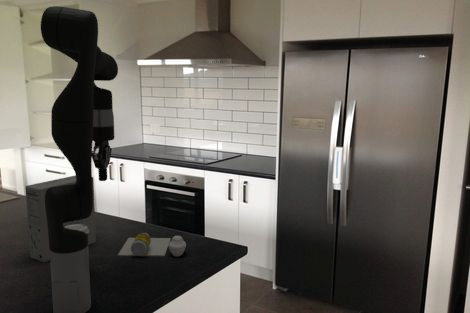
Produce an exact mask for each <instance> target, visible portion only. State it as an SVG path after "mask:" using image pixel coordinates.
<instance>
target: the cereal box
mask: <svg viewBox="0 0 470 313" xmlns="http://www.w3.org/2000/svg"><path fill="white" fill-rule="evenodd" d="M75 183H76V174H75V175H71V176H67V177H61V178H56V179H53V180H47V181H43V182H38V183H33V184H28V185H25V199H26V213H27V227H28V242H29V256H30V258H31V259H32V260H33V259H34V260H36V261H39V262H41V263H46V262H48V261H49V262H50V250H49V237H48V225H47V217H46V209H45V193H46V191H47V189H48V188H50V187H55V186H63V185H71V184H75ZM94 185H95V183H94V177H93V176H92V188H93V209H92V213H91V215H90V216H89V217H88V218H85V219H81V220H76V221H70V222H65V223H63V227H65V226H68V225H73V224H83V225H85V226H87V227H88V229H89V233H88V246H89V245H92V244H95V243H96V242H97V234H96V233H97V232H96V231H97V230H96V229H97V228H96V209H95V208H96V207H95V206H96V205H95V186H94Z"/></svg>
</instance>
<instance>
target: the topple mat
mask: <svg viewBox="0 0 470 313" xmlns="http://www.w3.org/2000/svg"><path fill="white" fill-rule="evenodd" d="M135 238H136V237H128V238H127V239H126V242H124V244H123V246H122V248H121V249H120V251H119V252H118V254H117V257H137V256H136V255H134V254H133V253H132V251H131V245H132V243H133V241H134V240H135ZM150 239H151V242H150V245H149V247H148V249H147V251H146V253H145V254H144V255H142V256H141V257H165V256H166V253H167V250H168V248H169V243H170V242H171V241H172V238H171V237H150Z"/></svg>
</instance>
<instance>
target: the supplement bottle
mask: <svg viewBox="0 0 470 313" xmlns="http://www.w3.org/2000/svg"><path fill="white" fill-rule="evenodd" d="M134 238H135V240H134V241H133V243H132V245H131V251H132V253H133V254H134V255H136V256H135V257H143V256H142V255H144V254H145V253H146V251H147V249H148V247H149V245H150V242H151V239H150V238H151V236H150V235H149V234H148V233H147V232H141V233H140V232H139V233H138V234H137V235H136V236H135V237H134Z"/></svg>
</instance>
